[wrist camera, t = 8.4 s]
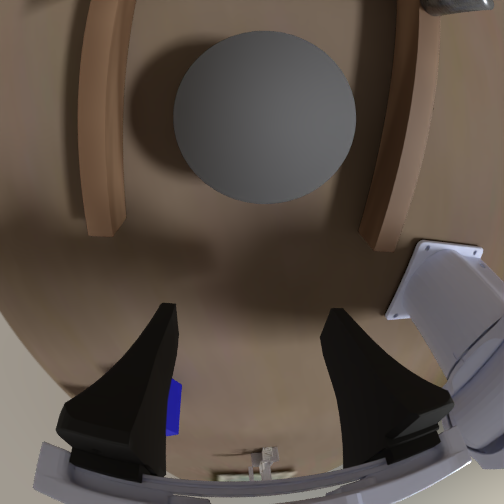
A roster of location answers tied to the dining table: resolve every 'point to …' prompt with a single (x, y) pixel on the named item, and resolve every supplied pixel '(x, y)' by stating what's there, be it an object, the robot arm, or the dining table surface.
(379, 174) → the frame
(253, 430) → the dining table surface
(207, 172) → the grey round dome
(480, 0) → the metal handle
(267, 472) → the architectural model
